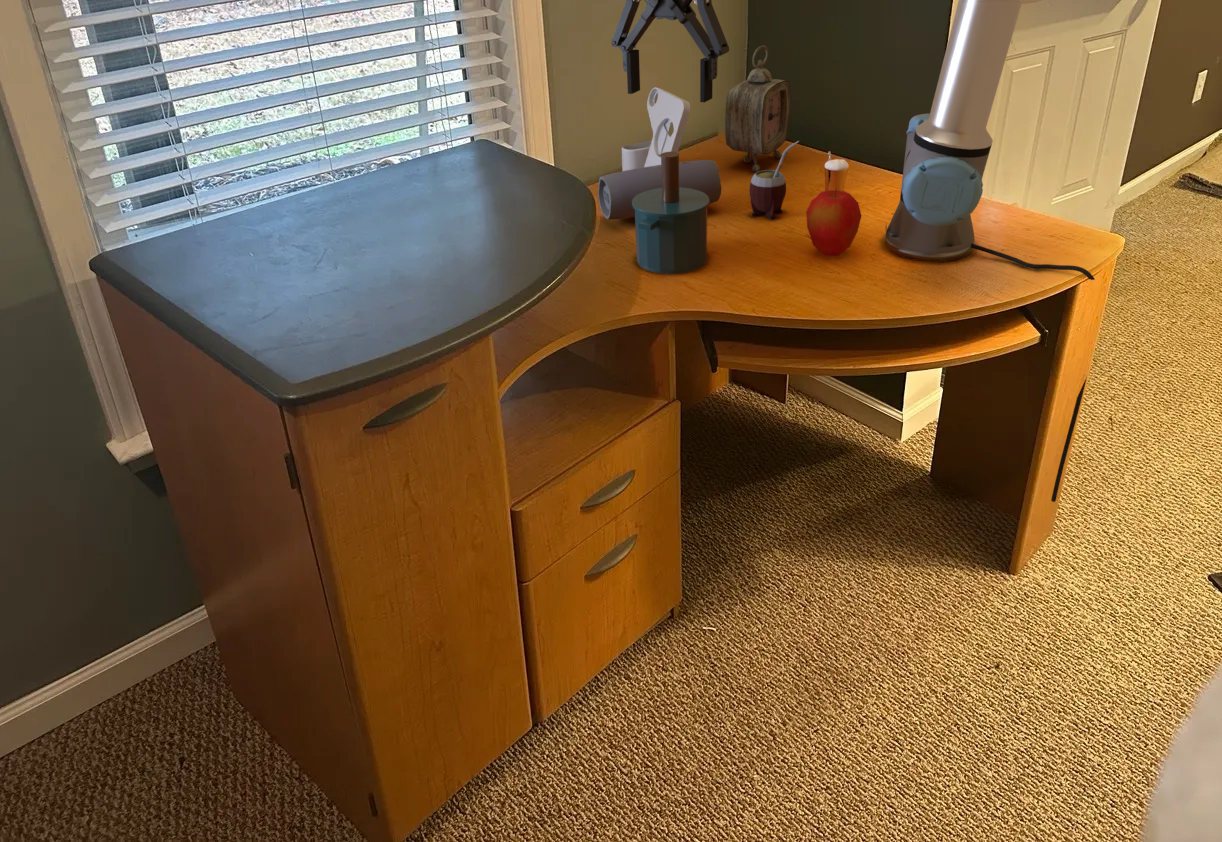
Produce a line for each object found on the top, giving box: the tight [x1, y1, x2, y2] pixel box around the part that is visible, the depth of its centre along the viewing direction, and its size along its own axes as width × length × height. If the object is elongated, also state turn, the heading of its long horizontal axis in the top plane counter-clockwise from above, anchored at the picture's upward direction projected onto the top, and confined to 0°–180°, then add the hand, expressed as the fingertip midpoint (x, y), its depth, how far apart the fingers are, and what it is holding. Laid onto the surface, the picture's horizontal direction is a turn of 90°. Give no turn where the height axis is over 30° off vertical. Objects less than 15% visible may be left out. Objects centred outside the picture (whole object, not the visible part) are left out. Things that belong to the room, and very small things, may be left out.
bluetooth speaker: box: [597, 159, 722, 220], centre depth 192 cm, size 23×9×10 cm, turn 108°
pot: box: [634, 207, 708, 275], centre depth 173 cm, size 12×18×10 cm
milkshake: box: [824, 150, 850, 191], centre depth 193 cm, size 4×5×10 cm
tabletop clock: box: [724, 45, 791, 173], centre depth 212 cm, size 14×9×25 cm, turn 147°
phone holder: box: [621, 87, 691, 172], centre depth 207 cm, size 17×10×18 cm, turn 23°
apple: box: [805, 189, 862, 257], centre depth 172 cm, size 9×9×12 cm
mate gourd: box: [749, 140, 800, 220], centre depth 189 cm, size 8×8×15 cm
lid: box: [632, 152, 710, 217], centre depth 168 cm, size 13×13×9 cm
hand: (669, 96), depth 161 cm, fingers open, 13 cm apart
